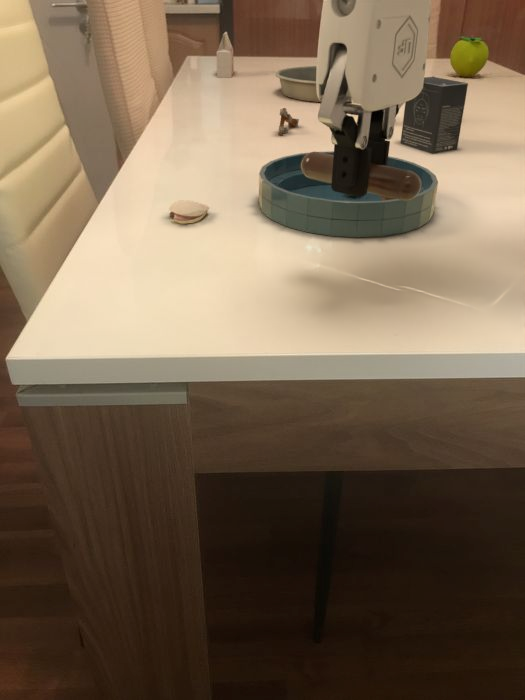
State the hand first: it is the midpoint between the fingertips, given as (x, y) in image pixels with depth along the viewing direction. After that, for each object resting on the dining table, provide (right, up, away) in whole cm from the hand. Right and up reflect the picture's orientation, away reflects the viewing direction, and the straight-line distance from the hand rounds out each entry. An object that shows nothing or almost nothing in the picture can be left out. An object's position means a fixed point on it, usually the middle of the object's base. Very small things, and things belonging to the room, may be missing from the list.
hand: (358, 187), depth 55 cm
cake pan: (+7, +45, +92) cm, 102 cm away
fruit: (+46, +59, +117) cm, 139 cm away
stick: (0, 0, 0) cm, 0 cm away
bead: (+8, +4, +25) cm, 26 cm away
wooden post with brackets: (-4, +25, +59) cm, 64 cm away
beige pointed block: (-18, +58, +113) cm, 128 cm away
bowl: (+2, +3, +24) cm, 25 cm away
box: (+19, +19, +51) cm, 58 cm away
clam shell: (-17, +1, +20) cm, 26 cm away
